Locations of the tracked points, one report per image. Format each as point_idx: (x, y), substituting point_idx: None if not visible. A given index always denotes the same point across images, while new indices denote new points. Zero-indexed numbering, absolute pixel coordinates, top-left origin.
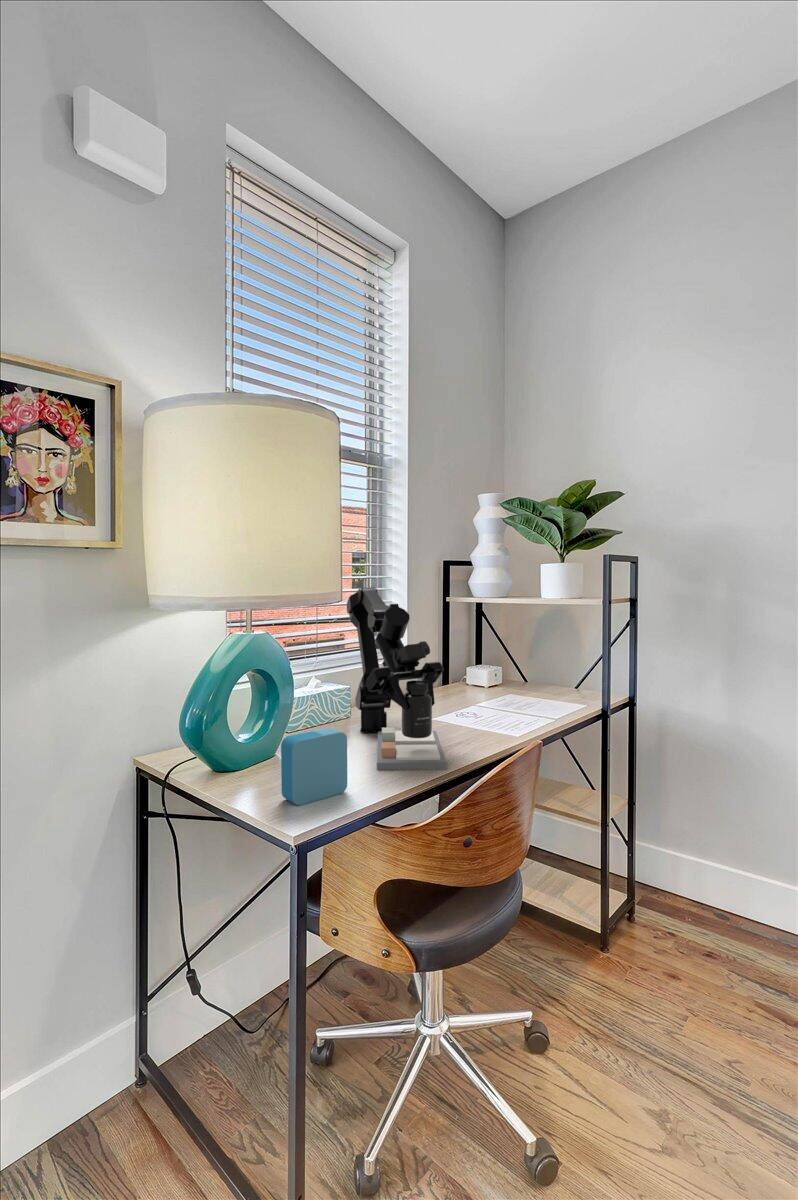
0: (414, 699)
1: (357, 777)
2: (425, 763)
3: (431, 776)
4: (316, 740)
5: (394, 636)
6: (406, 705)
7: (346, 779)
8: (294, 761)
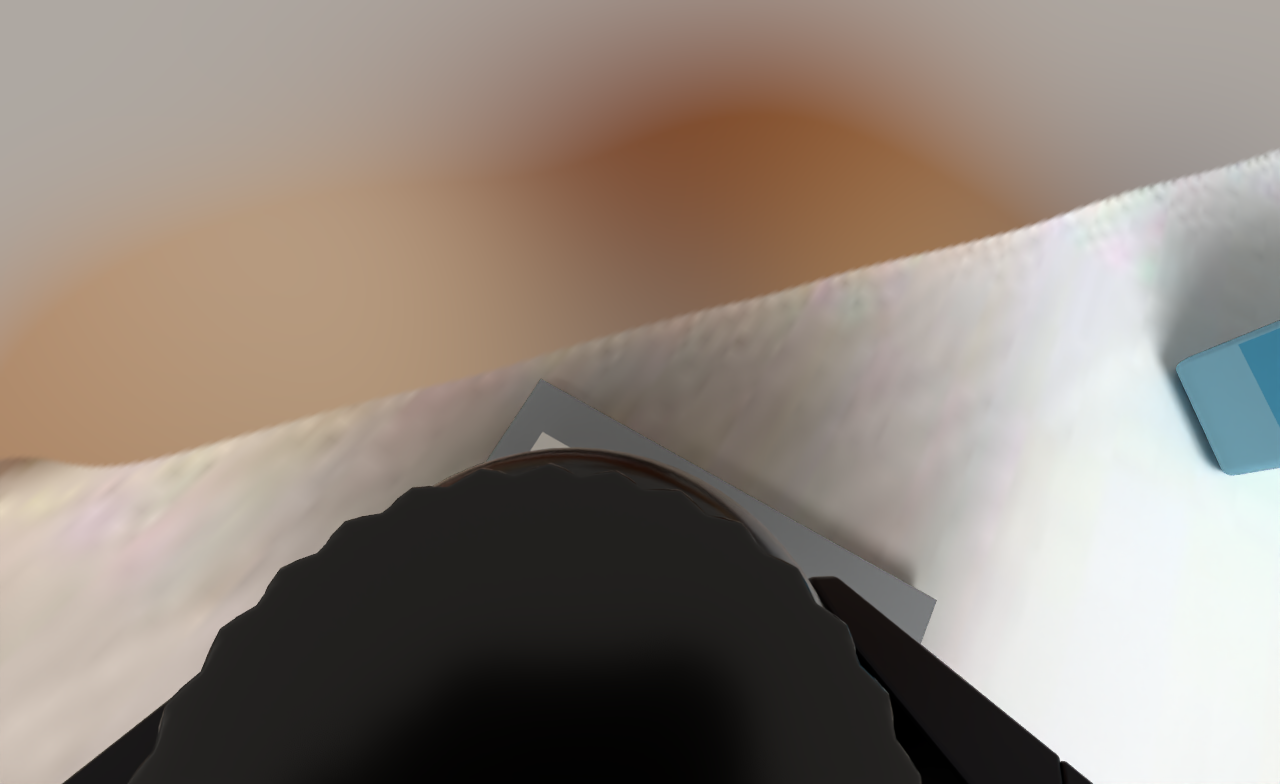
0: (752, 525)
1: (1059, 538)
2: (654, 442)
3: (685, 342)
4: None
5: None
6: (849, 593)
7: (1220, 345)
8: None
